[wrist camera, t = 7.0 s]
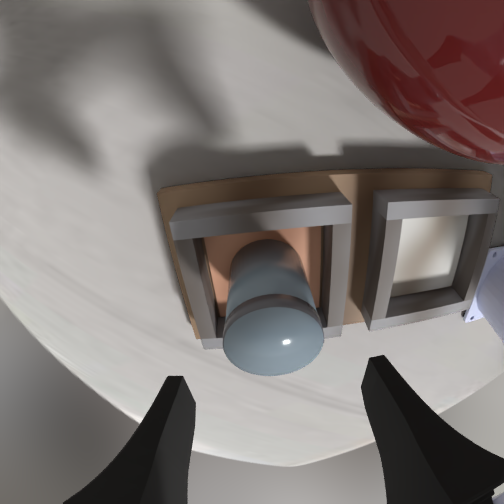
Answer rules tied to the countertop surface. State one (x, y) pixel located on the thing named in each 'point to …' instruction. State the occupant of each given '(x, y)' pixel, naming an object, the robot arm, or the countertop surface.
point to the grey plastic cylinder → (270, 311)
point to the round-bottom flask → (426, 66)
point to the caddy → (338, 241)
